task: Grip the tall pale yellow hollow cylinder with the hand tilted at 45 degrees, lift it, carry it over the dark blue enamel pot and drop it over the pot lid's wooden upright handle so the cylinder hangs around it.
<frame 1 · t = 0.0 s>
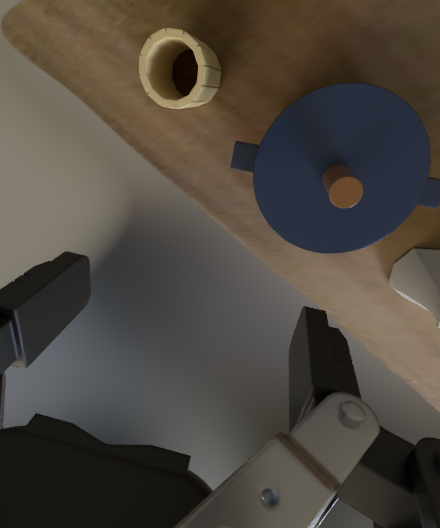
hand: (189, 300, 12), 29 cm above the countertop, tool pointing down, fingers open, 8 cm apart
pale yellow hollow cylinder: (193, 74, 35), on the countertop
pot: (325, 160, 36), on the countertop
pot lid: (336, 176, 29), point 8 cm above the countertop, touching pot
flask: (419, 272, 41), on the countertop
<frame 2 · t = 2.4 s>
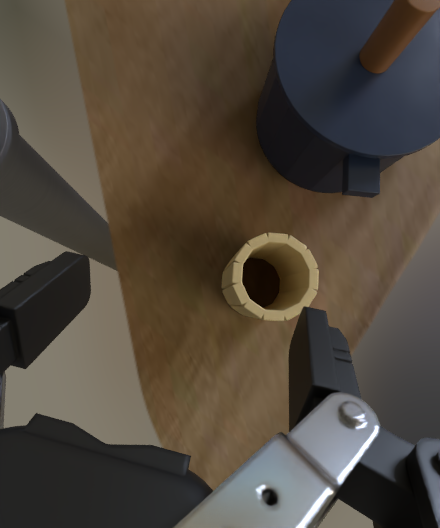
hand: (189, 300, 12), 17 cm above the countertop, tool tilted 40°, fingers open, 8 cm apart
pale yellow hollow cylinder: (254, 283, 30), on the countertop
pot: (324, 126, 32), on the countertop
pot lid: (371, 63, 24), point 8 cm above the countertop, touching pot
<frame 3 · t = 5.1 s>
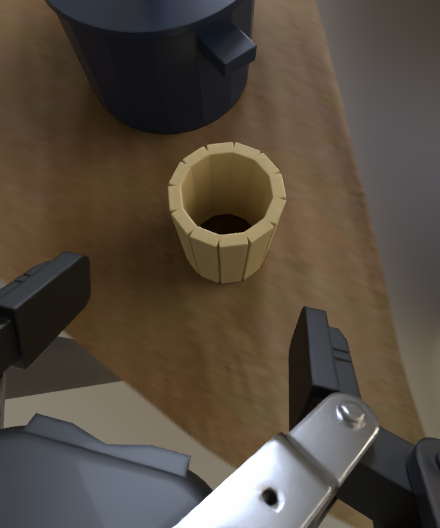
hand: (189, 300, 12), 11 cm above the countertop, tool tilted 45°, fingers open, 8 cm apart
pale yellow hollow cylinder: (226, 243, 24), on the countertop
pot: (170, 69, 29), on the countertop
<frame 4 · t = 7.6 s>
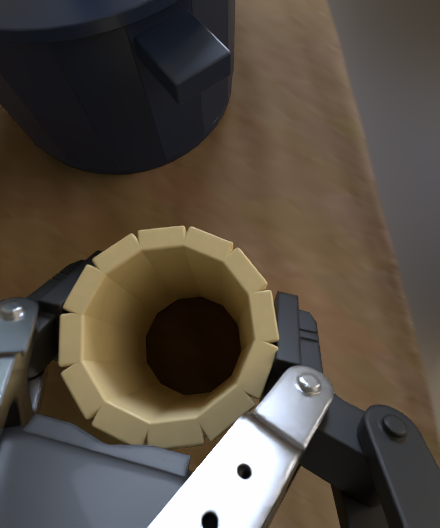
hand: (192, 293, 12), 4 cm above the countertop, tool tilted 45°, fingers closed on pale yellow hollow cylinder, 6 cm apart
pale yellow hollow cylinder: (193, 343, 16), on the countertop, touching gripper
pot: (125, 82, 21), on the countertop
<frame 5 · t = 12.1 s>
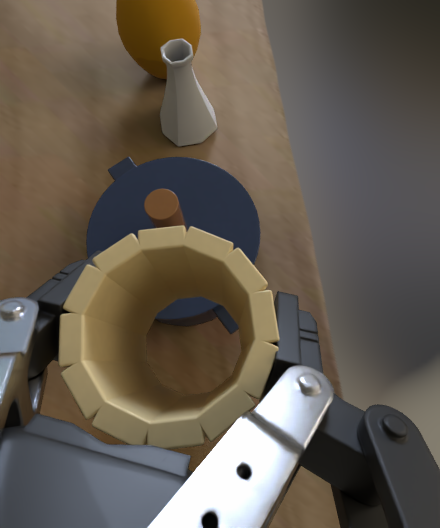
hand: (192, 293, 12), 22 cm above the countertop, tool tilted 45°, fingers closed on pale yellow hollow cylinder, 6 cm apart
pale yellow hollow cylinder: (193, 343, 16), point 18 cm above the countertop, touching gripper
apple: (168, 69, 44), on the countertop
pot: (186, 263, 36), on the countertop
pot lid: (173, 233, 28), point 8 cm above the countertop, touching pot
flask: (188, 124, 42), on the countertop
when the fingers open (13 cm above the countertop, at t = 16.6 s): pale yellow hollow cylinder stays where it is, resting on pot lid.
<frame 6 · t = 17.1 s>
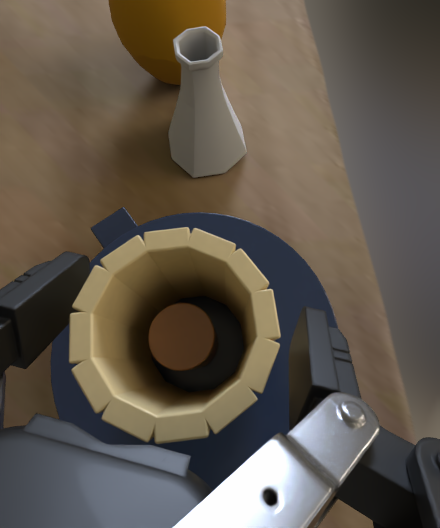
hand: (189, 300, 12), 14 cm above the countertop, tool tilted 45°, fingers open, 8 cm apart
pale yellow hollow cylinder: (197, 342, 17), point 9 cm above the countertop, touching pot lid
apple: (179, 71, 33), on the countertop
pot: (206, 350, 25), on the countertop
pot lid: (195, 344, 17), point 8 cm above the countertop, touching pot, pale yellow hollow cylinder
flask: (207, 146, 31), on the countertop
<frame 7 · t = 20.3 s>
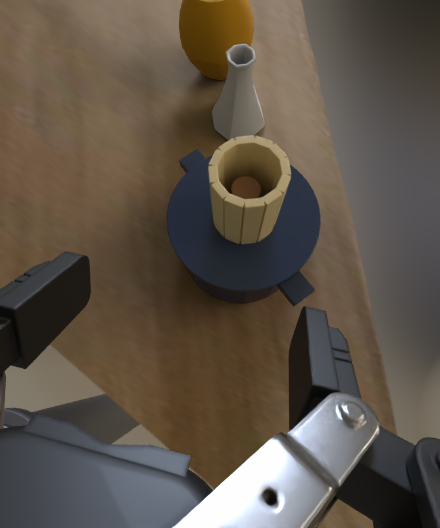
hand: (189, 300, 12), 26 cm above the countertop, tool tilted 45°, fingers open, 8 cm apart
pale yellow hollow cylinder: (244, 214, 31), point 9 cm above the countertop, touching pot lid
apple: (217, 70, 48), on the countertop
pot: (239, 247, 40), on the countertop
pot lid: (243, 217, 32), point 8 cm above the countertop, touching pot, pale yellow hollow cylinder
flask: (238, 121, 45), on the countertop
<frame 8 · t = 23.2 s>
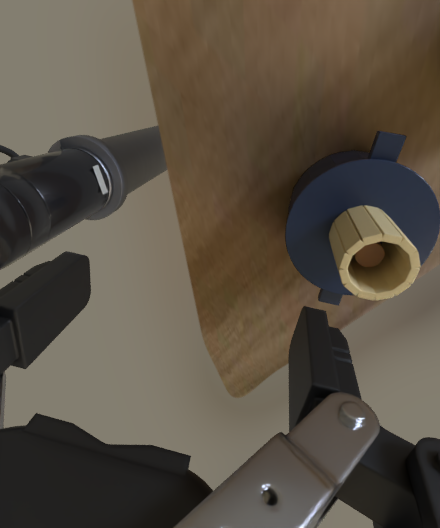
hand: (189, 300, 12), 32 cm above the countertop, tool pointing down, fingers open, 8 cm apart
pale yellow hollow cylinder: (360, 234, 33), point 9 cm above the countertop, touching pot lid
pot: (344, 207, 41), on the countertop
pot lid: (358, 232, 34), point 8 cm above the countertop, touching pot, pale yellow hollow cylinder
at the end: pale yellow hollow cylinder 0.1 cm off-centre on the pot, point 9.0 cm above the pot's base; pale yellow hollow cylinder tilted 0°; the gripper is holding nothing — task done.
